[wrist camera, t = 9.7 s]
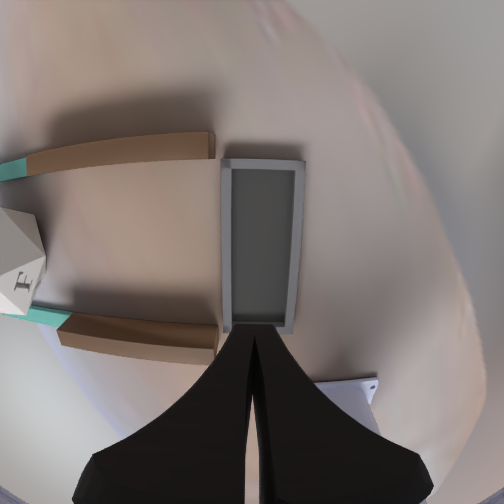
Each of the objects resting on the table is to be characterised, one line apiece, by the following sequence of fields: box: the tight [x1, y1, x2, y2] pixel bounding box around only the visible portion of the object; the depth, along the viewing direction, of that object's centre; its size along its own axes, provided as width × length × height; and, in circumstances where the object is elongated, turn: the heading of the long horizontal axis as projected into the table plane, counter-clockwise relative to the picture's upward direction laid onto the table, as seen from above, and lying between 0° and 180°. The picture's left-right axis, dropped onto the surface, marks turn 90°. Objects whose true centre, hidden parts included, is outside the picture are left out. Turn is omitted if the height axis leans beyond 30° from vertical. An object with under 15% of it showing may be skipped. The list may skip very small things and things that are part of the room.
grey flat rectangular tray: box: [221, 159, 306, 334], centre depth 19 cm, size 12×5×1 cm, turn 179°
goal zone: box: [0, 158, 73, 327], centre depth 19 cm, size 15×14×1 cm
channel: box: [26, 131, 219, 365], centre depth 18 cm, size 15×13×3 cm
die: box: [0, 207, 46, 315], centre depth 16 cm, size 8×9×10 cm
